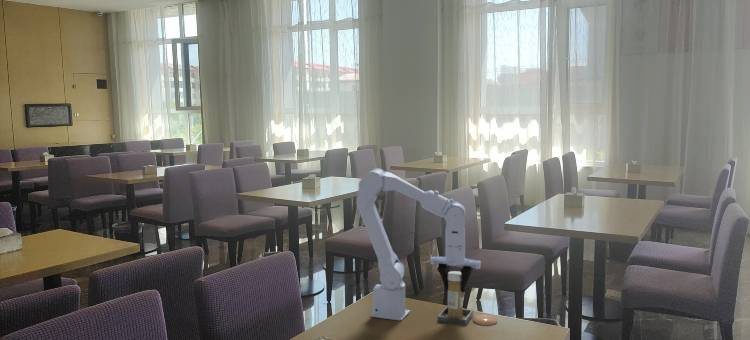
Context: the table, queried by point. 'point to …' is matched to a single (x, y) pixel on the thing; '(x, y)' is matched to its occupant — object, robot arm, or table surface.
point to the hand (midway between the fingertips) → (455, 290)
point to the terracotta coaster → (485, 319)
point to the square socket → (455, 320)
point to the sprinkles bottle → (455, 295)
